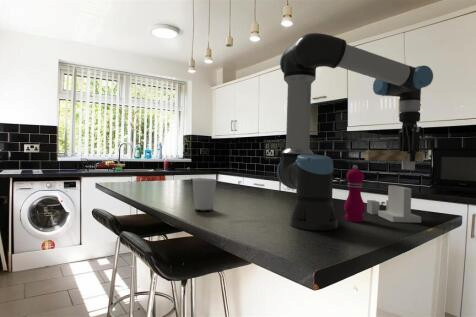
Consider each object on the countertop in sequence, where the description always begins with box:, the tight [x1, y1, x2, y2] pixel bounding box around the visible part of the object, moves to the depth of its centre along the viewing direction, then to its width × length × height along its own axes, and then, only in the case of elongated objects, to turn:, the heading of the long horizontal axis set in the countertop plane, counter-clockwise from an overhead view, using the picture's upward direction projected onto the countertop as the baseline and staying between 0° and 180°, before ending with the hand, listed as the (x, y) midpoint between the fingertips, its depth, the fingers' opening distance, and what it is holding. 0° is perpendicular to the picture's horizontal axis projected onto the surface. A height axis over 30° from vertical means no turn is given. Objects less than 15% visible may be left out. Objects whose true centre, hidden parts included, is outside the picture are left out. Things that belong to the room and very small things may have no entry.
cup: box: [192, 177, 217, 212], centre depth 131 cm, size 10×10×13 cm
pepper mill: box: [343, 164, 366, 223], centre depth 116 cm, size 7×7×20 cm
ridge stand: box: [377, 184, 422, 223], centre depth 120 cm, size 10×12×12 cm
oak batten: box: [364, 149, 424, 163], centre depth 130 cm, size 22×4×4 cm, turn 90°
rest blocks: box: [366, 199, 388, 215], centre depth 131 cm, size 11×5×5 cm, turn 90°
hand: (408, 169), depth 130 cm, fingers closed on oak batten, 3 cm apart
